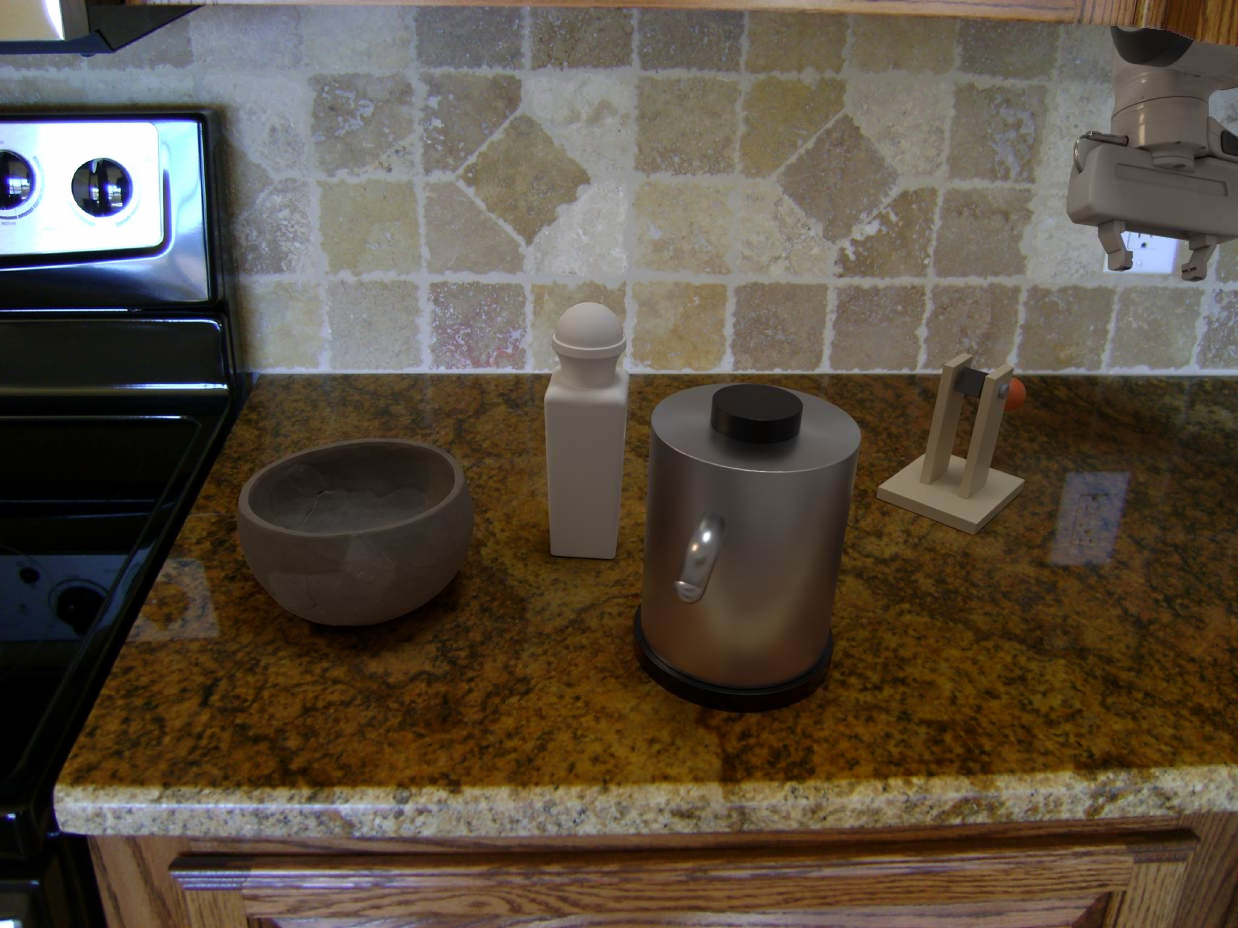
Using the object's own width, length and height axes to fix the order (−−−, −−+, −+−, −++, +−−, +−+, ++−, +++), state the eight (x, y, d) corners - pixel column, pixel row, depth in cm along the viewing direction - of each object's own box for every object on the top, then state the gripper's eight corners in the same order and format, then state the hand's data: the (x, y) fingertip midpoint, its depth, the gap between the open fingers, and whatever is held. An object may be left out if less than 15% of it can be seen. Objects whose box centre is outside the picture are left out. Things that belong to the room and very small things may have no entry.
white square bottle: (619, 563, 80) (628, 319, 70) (544, 559, 81) (542, 314, 70) (624, 524, 86) (633, 293, 76) (553, 520, 86) (553, 289, 76)
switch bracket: (929, 458, 100) (955, 336, 94) (1022, 490, 94) (1056, 363, 88) (876, 497, 92) (900, 367, 86) (973, 535, 86) (1007, 399, 80)
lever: (988, 407, 99) (1000, 374, 99) (1022, 417, 97) (1035, 384, 96) (945, 394, 88) (958, 358, 87) (982, 406, 86) (996, 368, 85)
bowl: (290, 529, 84) (274, 428, 79) (488, 533, 84) (484, 433, 79) (218, 654, 68) (193, 538, 64) (462, 658, 69) (455, 543, 64)
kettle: (779, 776, 59) (821, 501, 50) (574, 698, 65) (577, 439, 56) (862, 600, 77) (904, 371, 67) (693, 551, 82) (711, 334, 73)
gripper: (1099, 115, 90) (1098, 255, 90) (1262, 146, 96) (1262, 278, 95) (1052, 140, 97) (1050, 271, 96) (1208, 168, 102) (1207, 292, 101)
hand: (1157, 275), depth 96 cm, fingers open, 8 cm apart
